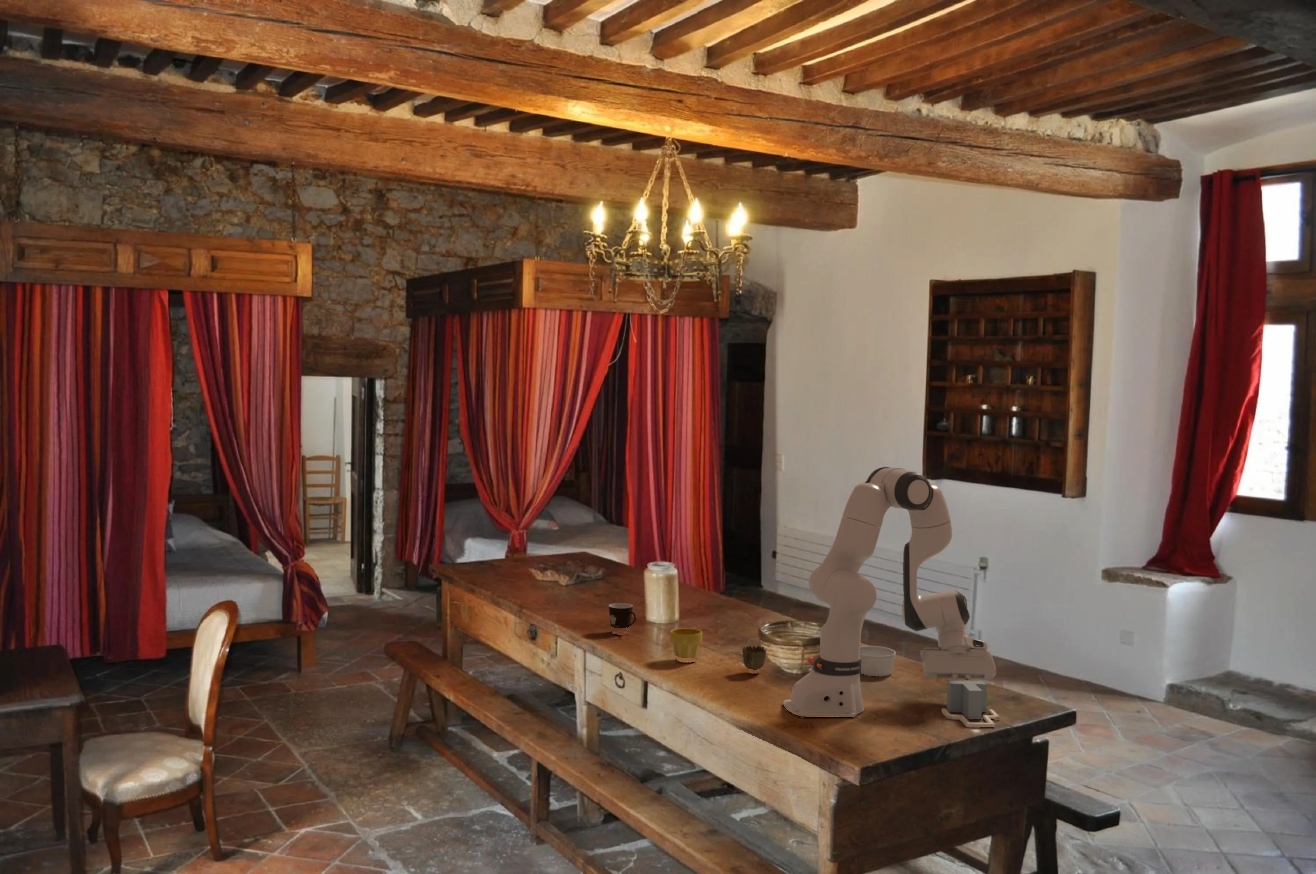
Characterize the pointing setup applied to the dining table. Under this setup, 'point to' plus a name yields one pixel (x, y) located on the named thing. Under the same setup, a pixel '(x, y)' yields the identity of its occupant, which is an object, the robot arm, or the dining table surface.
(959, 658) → the robot arm
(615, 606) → the coffee mug
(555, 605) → the dining table surface
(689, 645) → the plant pot
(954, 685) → the t block
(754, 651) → the cup
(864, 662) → the ramekin
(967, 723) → the t outline
